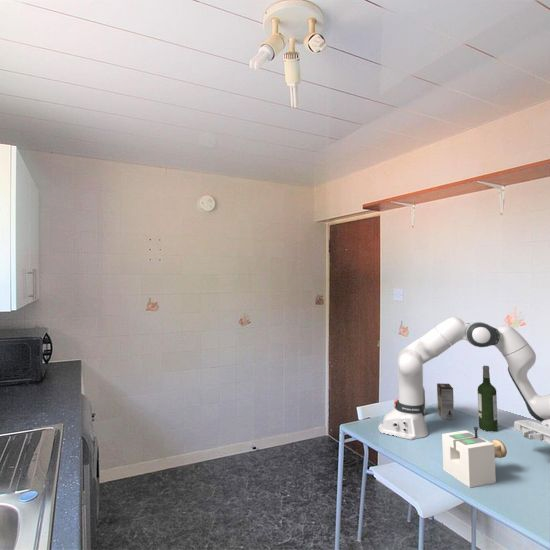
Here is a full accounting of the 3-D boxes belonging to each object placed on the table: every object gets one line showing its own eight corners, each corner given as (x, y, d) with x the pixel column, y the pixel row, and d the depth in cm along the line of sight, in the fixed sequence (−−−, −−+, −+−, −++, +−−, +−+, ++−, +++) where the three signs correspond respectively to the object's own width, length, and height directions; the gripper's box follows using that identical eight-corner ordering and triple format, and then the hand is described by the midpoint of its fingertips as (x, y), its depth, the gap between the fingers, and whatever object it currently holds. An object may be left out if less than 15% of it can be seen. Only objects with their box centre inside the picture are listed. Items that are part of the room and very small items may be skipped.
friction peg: (493, 453, 140) (492, 420, 141) (507, 460, 135) (505, 426, 135) (466, 457, 137) (465, 424, 138) (479, 465, 131) (477, 430, 132)
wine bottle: (478, 424, 181) (475, 363, 182) (496, 427, 178) (494, 365, 179) (479, 430, 174) (477, 367, 175) (499, 433, 171) (496, 368, 172)
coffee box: (437, 412, 199) (436, 383, 200) (450, 413, 198) (449, 383, 199) (441, 418, 190) (440, 387, 191) (454, 419, 189) (453, 388, 190)
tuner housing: (467, 465, 141) (466, 429, 142) (495, 482, 129) (494, 443, 129) (443, 469, 138) (442, 433, 139) (469, 487, 126) (468, 447, 126)
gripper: (529, 414, 154) (502, 418, 151) (580, 432, 134) (551, 437, 131) (530, 429, 154) (503, 434, 150) (581, 449, 134) (552, 455, 131)
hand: (526, 435), depth 141 cm, fingers closed
